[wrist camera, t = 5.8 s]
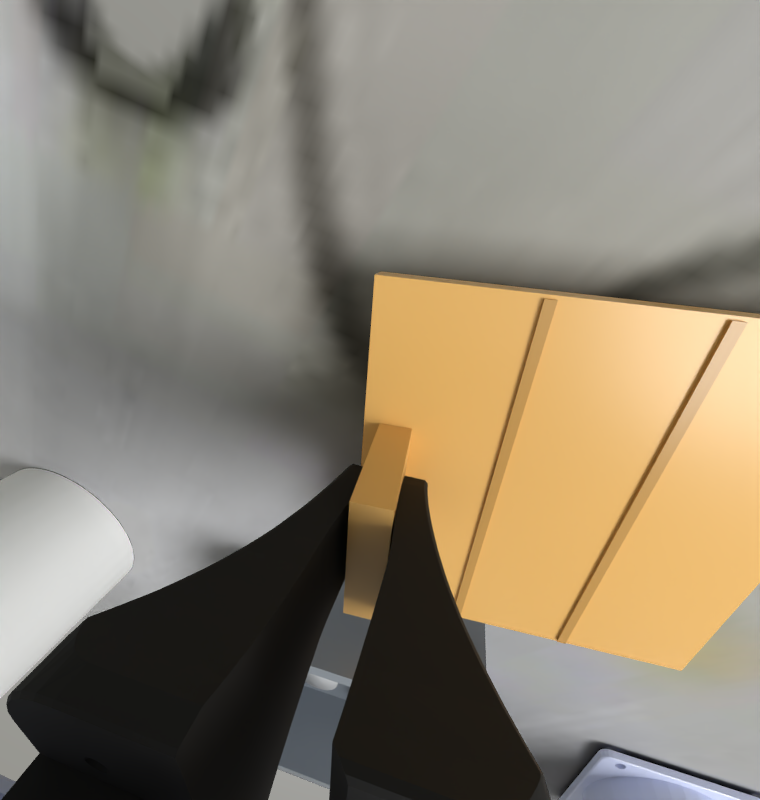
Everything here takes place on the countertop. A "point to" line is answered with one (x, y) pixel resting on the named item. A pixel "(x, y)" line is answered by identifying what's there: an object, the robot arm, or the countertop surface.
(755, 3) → the countertop surface
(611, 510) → the lid
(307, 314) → the countertop surface
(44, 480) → the cylinder container
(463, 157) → the countertop surface
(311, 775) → the tub
